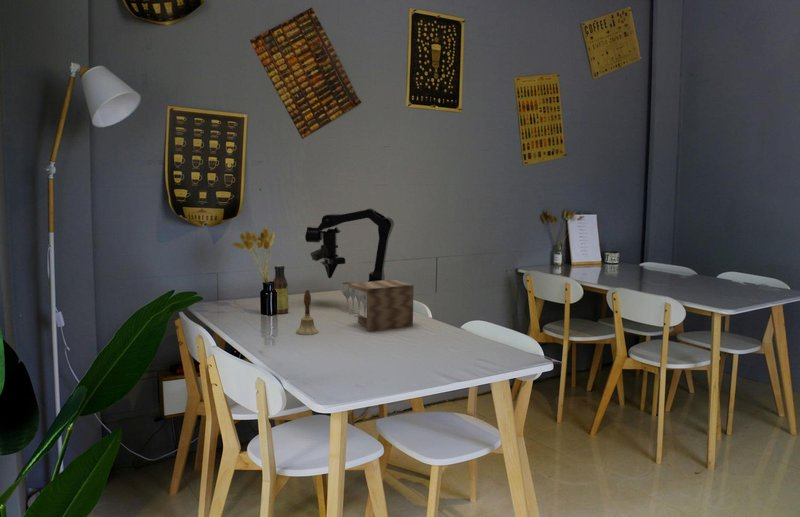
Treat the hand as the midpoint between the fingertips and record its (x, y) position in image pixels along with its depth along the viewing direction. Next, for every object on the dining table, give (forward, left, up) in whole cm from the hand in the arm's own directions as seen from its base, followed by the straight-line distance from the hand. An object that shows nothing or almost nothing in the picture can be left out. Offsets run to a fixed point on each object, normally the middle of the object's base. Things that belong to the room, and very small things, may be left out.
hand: (329, 278), depth 296 cm
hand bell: (+30, +40, -12) cm, 51 cm away
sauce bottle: (+25, +4, -12) cm, 28 cm away
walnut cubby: (0, +43, -12) cm, 45 cm away
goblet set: (0, +26, -12) cm, 29 cm away
